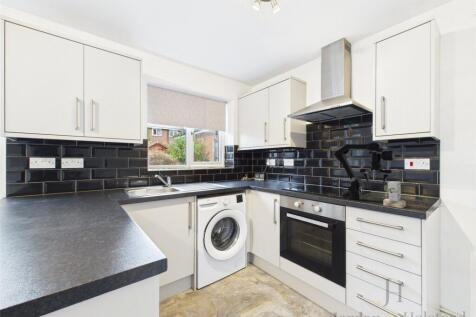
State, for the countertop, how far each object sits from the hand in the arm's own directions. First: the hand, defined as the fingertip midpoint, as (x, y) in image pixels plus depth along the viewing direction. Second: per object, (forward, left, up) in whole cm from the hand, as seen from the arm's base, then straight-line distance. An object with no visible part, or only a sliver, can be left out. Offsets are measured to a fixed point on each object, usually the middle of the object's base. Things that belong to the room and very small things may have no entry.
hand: (376, 183), depth 142 cm
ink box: (+11, -3, -10) cm, 15 cm away
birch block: (+11, -3, -14) cm, 18 cm away
